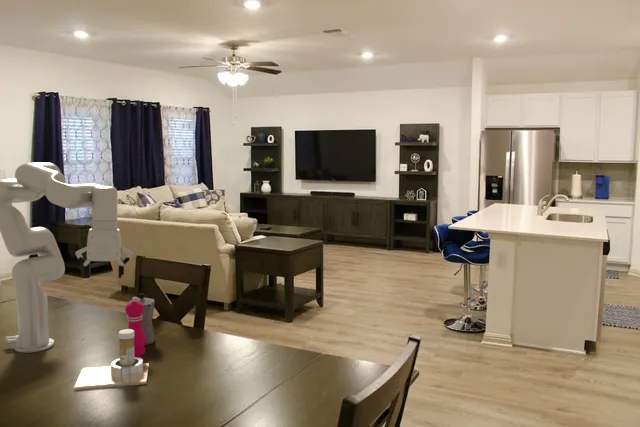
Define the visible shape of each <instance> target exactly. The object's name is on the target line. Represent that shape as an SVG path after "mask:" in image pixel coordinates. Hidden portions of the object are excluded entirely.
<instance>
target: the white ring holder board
mask: <svg viewBox="0 0 640 427" xmlns="http://www.w3.org/2000/svg"><path fill="white" fill-rule="evenodd" d="M149 367H150V363H149V362H146V363H145V362H144V359H143V358H141V357H140V356H138V357H134V365H132V366H128V367H120V357H118V358H116V359H115V360H113V361H111V364H110V365H107V366H106V365H104V366H93V367H83V368H82V369H81V370H80V373H79V376H78V377H77V380H76V382H75V385H74V387H73V388H74V391H81V390H91V389H105V388H116V387H127V386H139V385H147V381H148V374H149Z"/></svg>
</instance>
